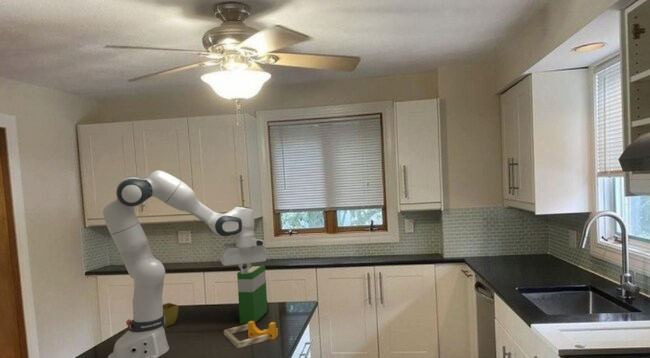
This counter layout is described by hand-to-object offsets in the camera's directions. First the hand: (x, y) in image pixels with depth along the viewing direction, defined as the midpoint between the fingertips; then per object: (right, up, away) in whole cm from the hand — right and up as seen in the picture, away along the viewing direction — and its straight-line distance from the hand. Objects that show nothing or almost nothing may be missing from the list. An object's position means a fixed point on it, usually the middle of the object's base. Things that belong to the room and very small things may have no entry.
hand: (244, 273), depth 177 cm
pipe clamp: (+9, -26, -5) cm, 28 cm away
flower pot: (-41, -29, +15) cm, 52 cm away
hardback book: (+1, -27, +20) cm, 33 cm away
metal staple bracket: (+1, -26, -5) cm, 27 cm away
